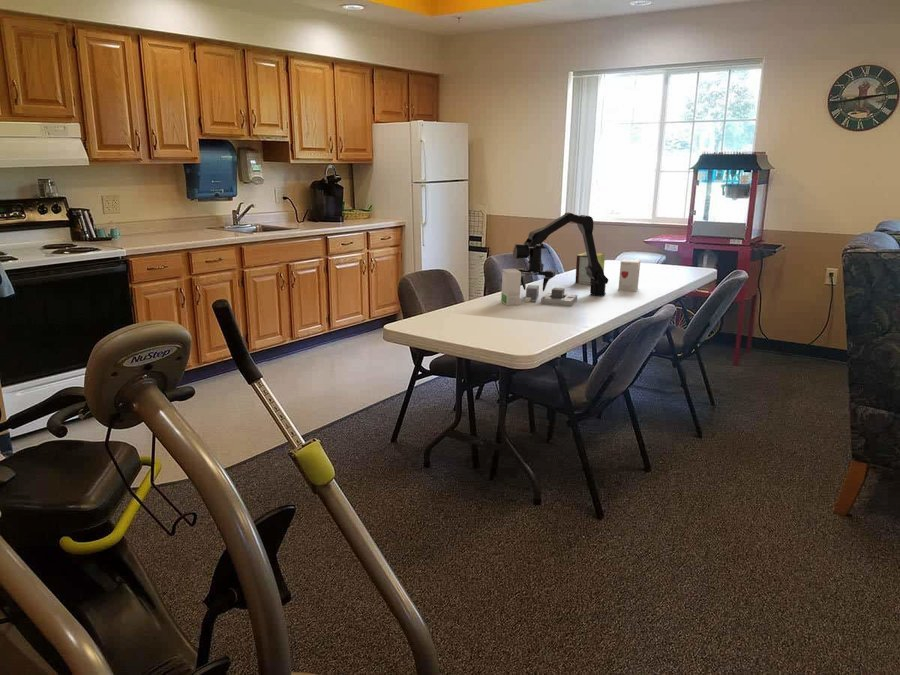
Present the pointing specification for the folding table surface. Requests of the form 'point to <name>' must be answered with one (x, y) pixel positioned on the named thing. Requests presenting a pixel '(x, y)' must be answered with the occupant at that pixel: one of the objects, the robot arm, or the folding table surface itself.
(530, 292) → the block
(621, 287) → the supplement box
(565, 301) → the outlet plate
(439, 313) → the folding table surface
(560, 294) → the grey block
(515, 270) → the skincare box
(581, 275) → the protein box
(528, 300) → the cable plug
